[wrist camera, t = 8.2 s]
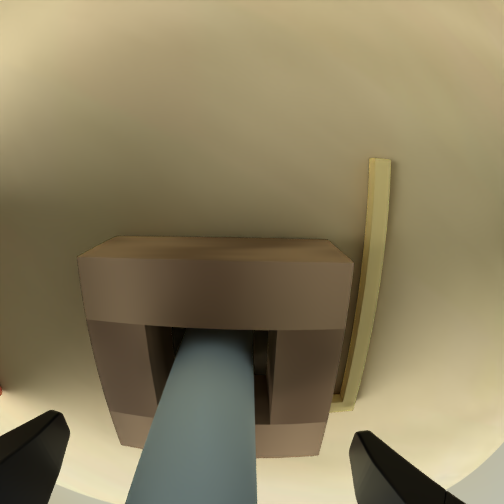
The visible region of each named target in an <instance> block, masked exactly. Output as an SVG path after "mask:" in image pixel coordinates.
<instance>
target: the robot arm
mask: <svg viewBox="0 0 504 504" xmlns="http://www.w3.org/2000/svg"><path fill="white" fill-rule="evenodd" d="M69 437H70V430H69V427H68V425H67V423H66V420H65V418H64V416H63V414H62V413H61V412H58V411H54V410H49V411H47V412H45V413H43V414H41V415H40V416H38V417H36V418H34V419H32V420H30V421H28V422H27V423H25V424H23V425H21V426H19V427H17V428H15V429H13V430H11V431H9V432H7V433H5V434H4V435H2V436H0V504H48V502H49V499H50V496H51V493H52V491H53V488H54V485H55V483H56V480H57V478H58V475H59V472H60V469H61V466H62V462H63V458H64V454H65V451H66V447H67V444H68V440H69ZM349 457H350V463H351V469H352V476H353V483H354V489H355V495H356V499H357V503H358V504H466V503H464V502H463V501H461V500H460V499H458V498H457V497H455V496H454V495H452V494H451V493H450V492H448V491H446V490H445V489H444V488H443V487H441V486H440V485H438V484H437V483H436V482H434V481H433V480H432V479H430V478H429V477H428V476H426V475H425V474H424V473H422V472H421V471H420V470H419V469H417V468H416V467H415V466H413V465H412V464H411V463H409V462H408V461H407V460H406V459H404V458H403V457H402V456H400V455H399V454H398V453H397V452H395V451H394V450H393V449H392V448H390V447H389V446H388V445H387V444H385V443H384V442H383V441H382V440H380V439H379V438H378V437H377V436H376V435H374V434H373V433H372V432H371V431H368V430H366V431H359V432H356V433H355V435H354V437H353V440H352V443H351V446H350V449H349Z"/></svg>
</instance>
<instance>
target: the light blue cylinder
mask: <svg viewBox="0 0 504 504" xmlns="http://www.w3.org/2000/svg"><path fill="white" fill-rule="evenodd" d="M125 504H257V481H256V444H255V406H254V367H253V332H252V330H232V329H203V328H186V331H185V334H184V336H183V339H182V342H181V344H180V347H179V350H178V352H177V355H176V358H175V360H174V363H173V366H172V369H171V371H170V374H169V377H168V379H167V382H166V385H165V388H164V391H163V393H162V396H161V399H160V402H159V405H158V407H157V410H156V413H155V416H154V419H153V422H152V424H151V427H150V430H149V433H148V436H147V439H146V442H145V445H144V448H143V451H142V454H141V457H140V460H139V463H138V466H137V469H136V472H135V475H134V478H133V481H132V484H131V487H130V490H129V493H128V496H127V500H126V503H125Z"/></svg>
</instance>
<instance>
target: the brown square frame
mask: <svg viewBox="0 0 504 504" xmlns="http://www.w3.org/2000/svg"><path fill="white" fill-rule="evenodd" d="M77 262H78V270H79V278H80V285H81V292H82V298H83V304H84V310H85V315H86V321H87V326H88V331H89V336H90V340H91V345H92V349H93V354H94V358H95V362H96V366H97V370H98V374H99V377H100V381H101V385H102V388H103V392H104V395H105V398H106V402H107V405H108V408H109V411H110V415H111V418H112V421H113V424H114V427H115V429H116V432H117V435H118V438H119V441H120V443H121V445H124V446H130V447H135V448H141V449H143V448H144V445H145V442H146V439H147V436H148V433H149V430H150V427H151V424H152V422H153V419H154V416H155V413H156V410H157V407H158V405H159V402H160V399H161V396H162V393H163V391H164V388H165V385H166V382H167V379H168V377H169V374H170V371H171V369H172V366H173V363H174V360H175V358H174V348H173V338H172V328H171V327H183V328H203V329H232V330H269V332H268V351H267V369H266V375H254V406H255V444H256V458H284V457H303V456H316V455H319V451H320V448H321V444H322V440H323V436H324V432H325V428H326V424H327V420H328V415H329V411H330V407H331V402H332V398H333V393H334V388H335V383H336V378H337V373H338V368H339V363H340V357H341V352H342V346H343V340H344V334H345V328H346V322H347V315H348V308H349V301H350V294H351V286H352V278H353V269H354V262H353V261H352V260H351V259H349V258H348V257H347V256H346V255H345V254H344V253H343V252H341V251H340V250H339V249H338V248H337V247H336V246H335V245H333V244H332V243H331V242H330V241H329V240H324V239H286V238H239V237H175V236H115V237H113V238H111V239H109V240H107V241H105V242H103V243H102V244H100V245H98V246H96V247H94V248H92V249H90V250H88V251H86V252H85V253H83V254H81V255H79V256H77Z"/></svg>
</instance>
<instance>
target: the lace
mask: <svg viewBox="0 0 504 504" xmlns="http://www.w3.org/2000/svg"><path fill="white" fill-rule="evenodd" d="M390 176H391V160H389V159H381V158H369V182H368V200H367V215H366V227H365V239H364V249H363V258H362V267H361V275H360V283H359V291H358V298H357V305H356V312H355V318H354V324H353V330H352V336H351V342H350V347H349V352H348V358H347V363H346V368H345V373H344V377H343V382H342V387H341V391H340V394H333V398H332V402H331V407H330V411H329V413H332V412H343V411H353V409H354V405H355V402H356V398H357V394H358V391H359V387H360V383H361V379H362V375H363V370H364V366H365V362H366V357H367V353H368V348H369V343H370V339H371V334H372V329H373V323H374V318H375V312H376V307H377V301H378V294H379V288H380V281H381V274H382V267H383V259H384V251H385V242H386V232H387V221H388V209H389V195H390Z"/></svg>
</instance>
